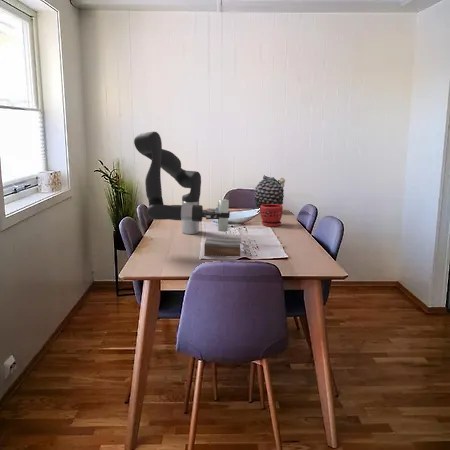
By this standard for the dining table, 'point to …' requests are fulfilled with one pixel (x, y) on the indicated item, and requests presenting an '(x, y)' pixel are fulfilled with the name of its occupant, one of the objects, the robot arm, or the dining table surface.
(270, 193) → the round potted cactus
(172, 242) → the dining table surface
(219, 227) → the pale green cylinder
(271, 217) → the plant pot
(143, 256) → the dining table surface
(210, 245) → the stand
